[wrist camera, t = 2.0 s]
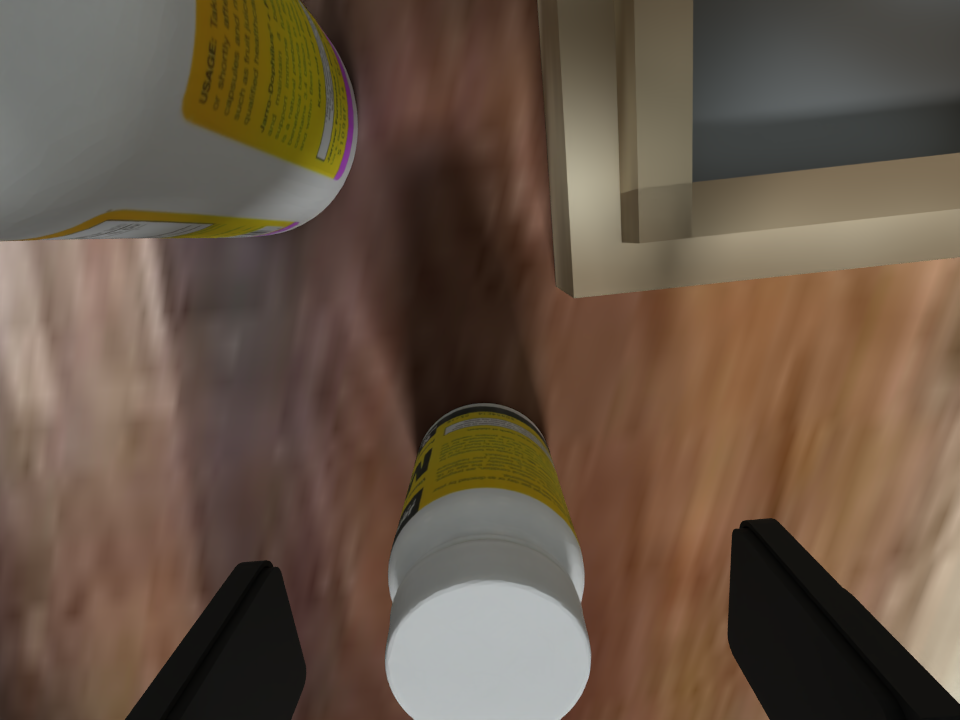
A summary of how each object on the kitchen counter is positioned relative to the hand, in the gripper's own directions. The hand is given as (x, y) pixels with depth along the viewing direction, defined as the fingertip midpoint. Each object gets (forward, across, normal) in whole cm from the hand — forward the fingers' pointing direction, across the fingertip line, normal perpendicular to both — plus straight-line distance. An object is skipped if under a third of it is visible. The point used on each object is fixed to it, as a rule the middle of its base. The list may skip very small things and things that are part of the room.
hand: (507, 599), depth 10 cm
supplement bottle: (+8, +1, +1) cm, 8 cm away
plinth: (+8, -8, -11) cm, 16 cm away
